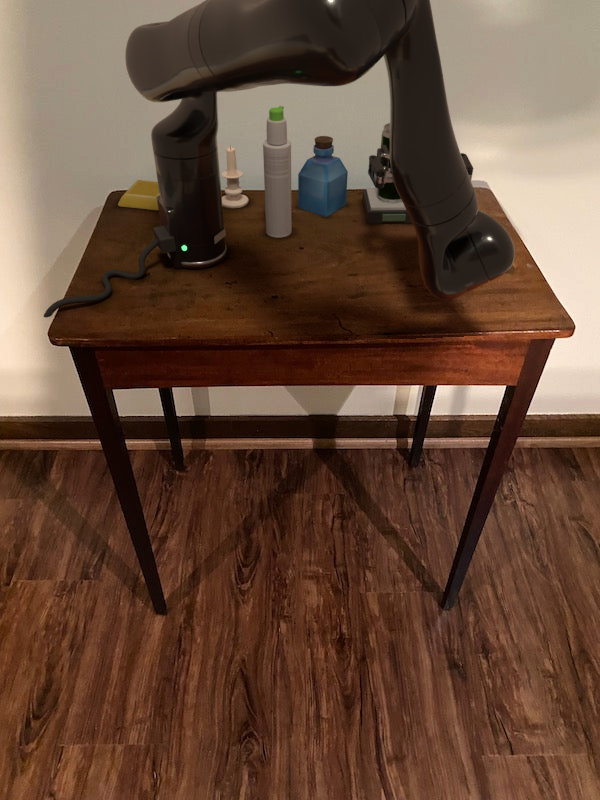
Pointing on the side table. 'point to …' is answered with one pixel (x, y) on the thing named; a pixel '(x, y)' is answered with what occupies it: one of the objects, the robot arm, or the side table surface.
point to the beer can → (389, 189)
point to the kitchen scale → (383, 209)
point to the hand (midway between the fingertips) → (410, 150)
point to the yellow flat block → (141, 195)
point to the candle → (233, 183)
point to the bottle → (277, 175)
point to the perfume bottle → (322, 180)
